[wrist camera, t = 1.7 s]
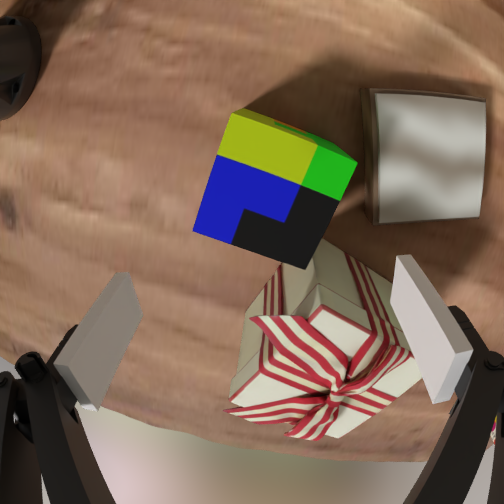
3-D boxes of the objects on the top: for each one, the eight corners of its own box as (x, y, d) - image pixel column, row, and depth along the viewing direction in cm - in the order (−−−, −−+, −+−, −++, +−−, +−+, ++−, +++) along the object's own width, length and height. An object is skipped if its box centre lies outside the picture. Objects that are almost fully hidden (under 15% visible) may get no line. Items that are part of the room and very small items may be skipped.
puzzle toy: (212, 194, 35) (192, 231, 26) (243, 108, 30) (231, 112, 22) (297, 224, 36) (305, 270, 27) (333, 143, 32) (357, 162, 23)
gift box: (275, 210, 35) (276, 306, 20) (400, 275, 38) (454, 373, 23) (215, 317, 43) (192, 425, 28) (329, 360, 46) (344, 460, 31)
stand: (359, 88, 28) (371, 88, 25) (469, 96, 27) (488, 98, 23) (364, 213, 35) (374, 227, 31) (465, 208, 33) (481, 220, 30)
